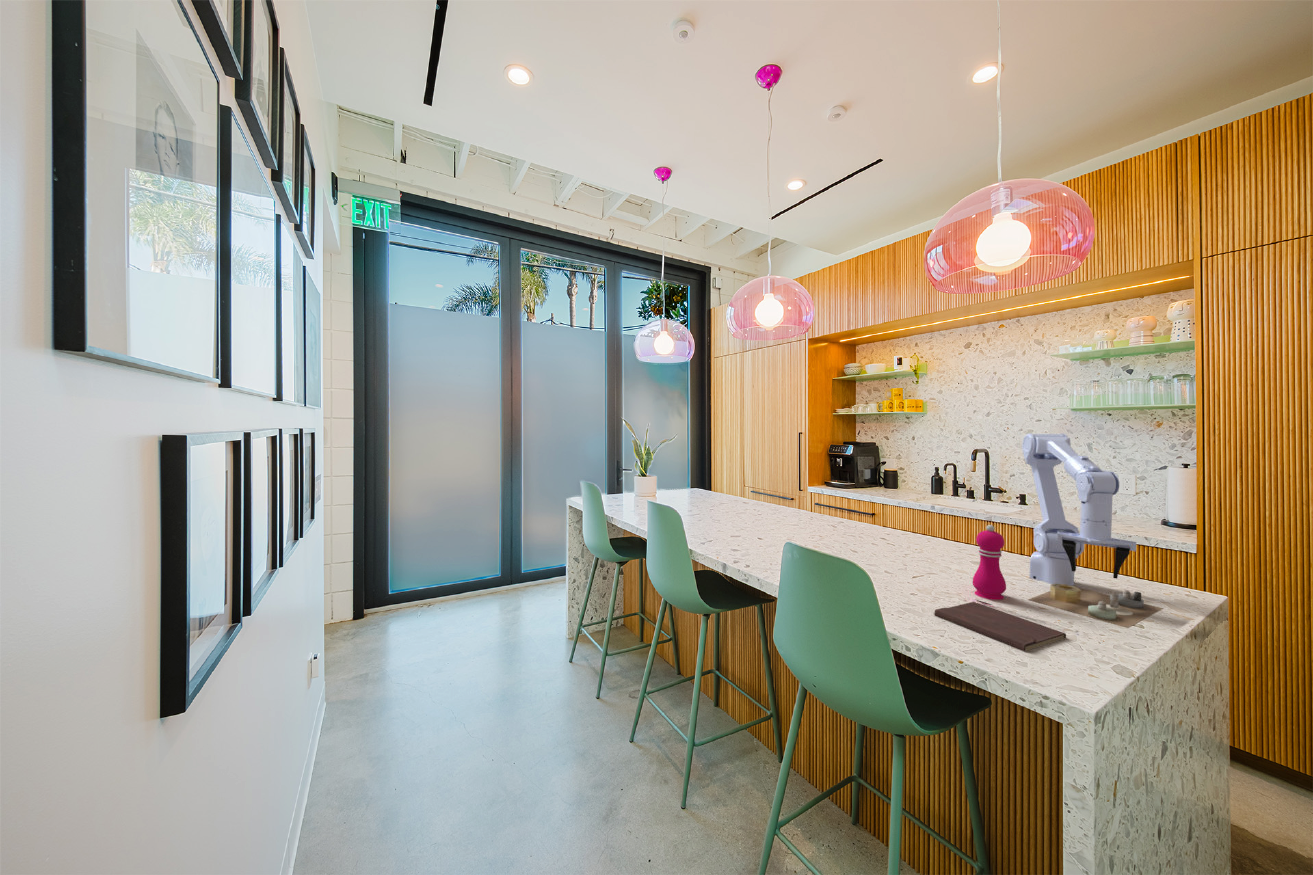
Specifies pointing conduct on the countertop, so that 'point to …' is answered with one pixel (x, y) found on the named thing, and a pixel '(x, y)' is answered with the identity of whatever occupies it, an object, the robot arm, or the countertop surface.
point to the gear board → (1104, 606)
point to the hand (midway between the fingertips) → (1094, 573)
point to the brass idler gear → (1065, 593)
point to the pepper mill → (989, 566)
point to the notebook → (1000, 625)
